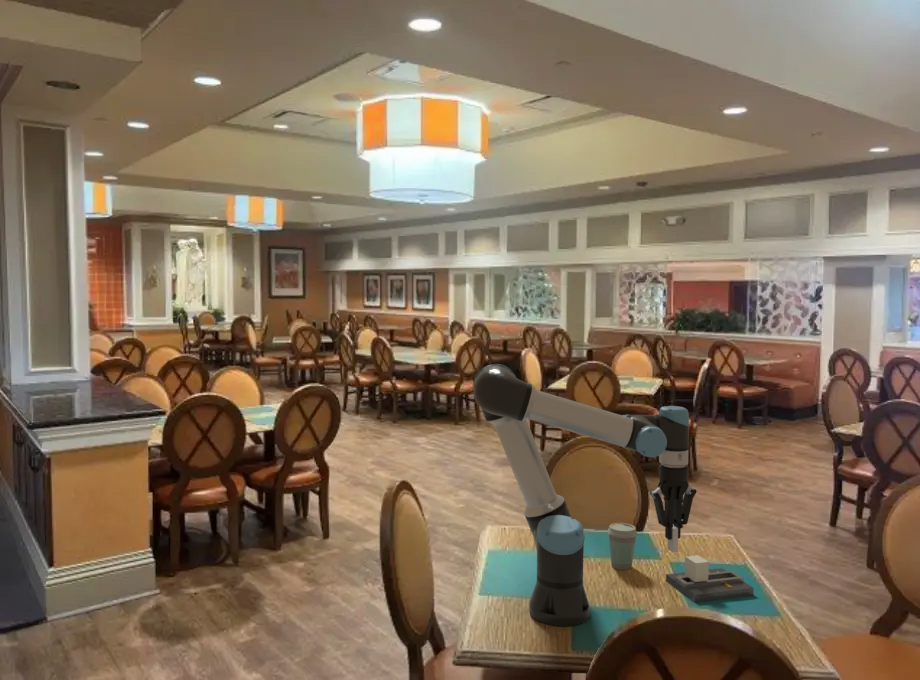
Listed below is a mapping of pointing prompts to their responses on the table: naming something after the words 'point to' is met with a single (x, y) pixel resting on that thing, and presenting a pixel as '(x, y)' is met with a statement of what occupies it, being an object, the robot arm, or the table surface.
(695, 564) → the fader tab
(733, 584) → the console
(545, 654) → the table surface
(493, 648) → the table surface
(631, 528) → the coffee cup
